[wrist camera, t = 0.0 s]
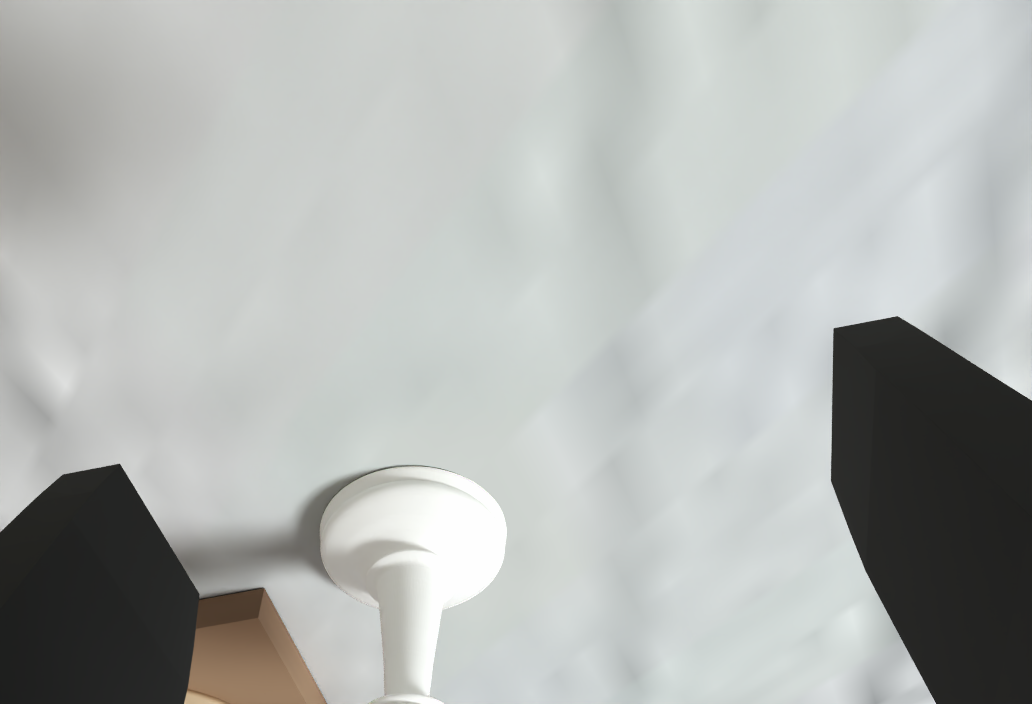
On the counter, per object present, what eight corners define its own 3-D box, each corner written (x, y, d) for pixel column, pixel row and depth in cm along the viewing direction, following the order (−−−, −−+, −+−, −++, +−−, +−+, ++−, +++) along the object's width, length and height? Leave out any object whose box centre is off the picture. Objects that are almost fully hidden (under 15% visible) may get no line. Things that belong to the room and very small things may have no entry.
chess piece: (373, 614, 26) (337, 1028, 18) (284, 501, 23) (195, 930, 15) (533, 563, 25) (573, 973, 17) (461, 440, 22) (468, 859, 14)
